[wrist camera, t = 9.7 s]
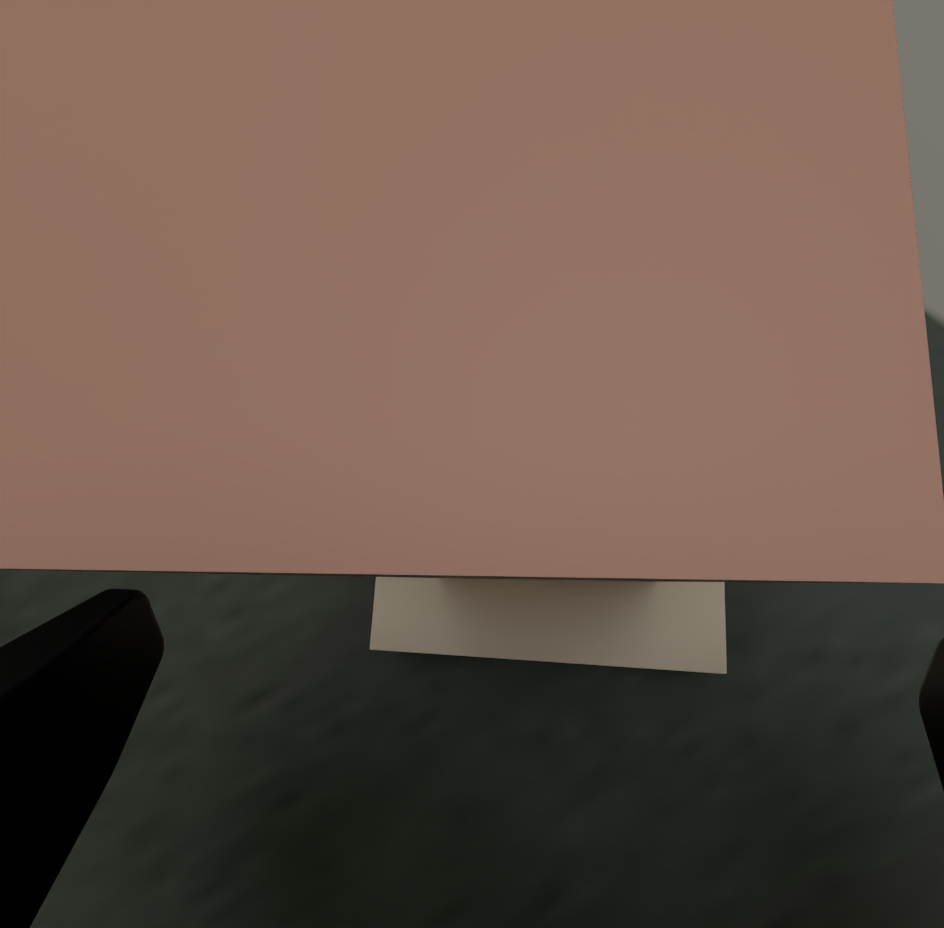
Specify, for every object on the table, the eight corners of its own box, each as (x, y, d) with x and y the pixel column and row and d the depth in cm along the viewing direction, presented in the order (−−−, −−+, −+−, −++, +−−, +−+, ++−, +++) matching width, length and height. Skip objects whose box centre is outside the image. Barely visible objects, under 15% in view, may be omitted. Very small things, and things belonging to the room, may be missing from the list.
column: (657, 581, 15) (951, 582, 2) (439, 578, 16) (-165, 564, 3) (650, 366, 16) (845, -457, 3) (443, 374, 17) (-24, -245, 4)
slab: (701, 666, 17) (726, 674, 15) (401, 646, 19) (369, 649, 16) (696, 375, 19) (717, 330, 16) (423, 374, 21) (398, 332, 18)
